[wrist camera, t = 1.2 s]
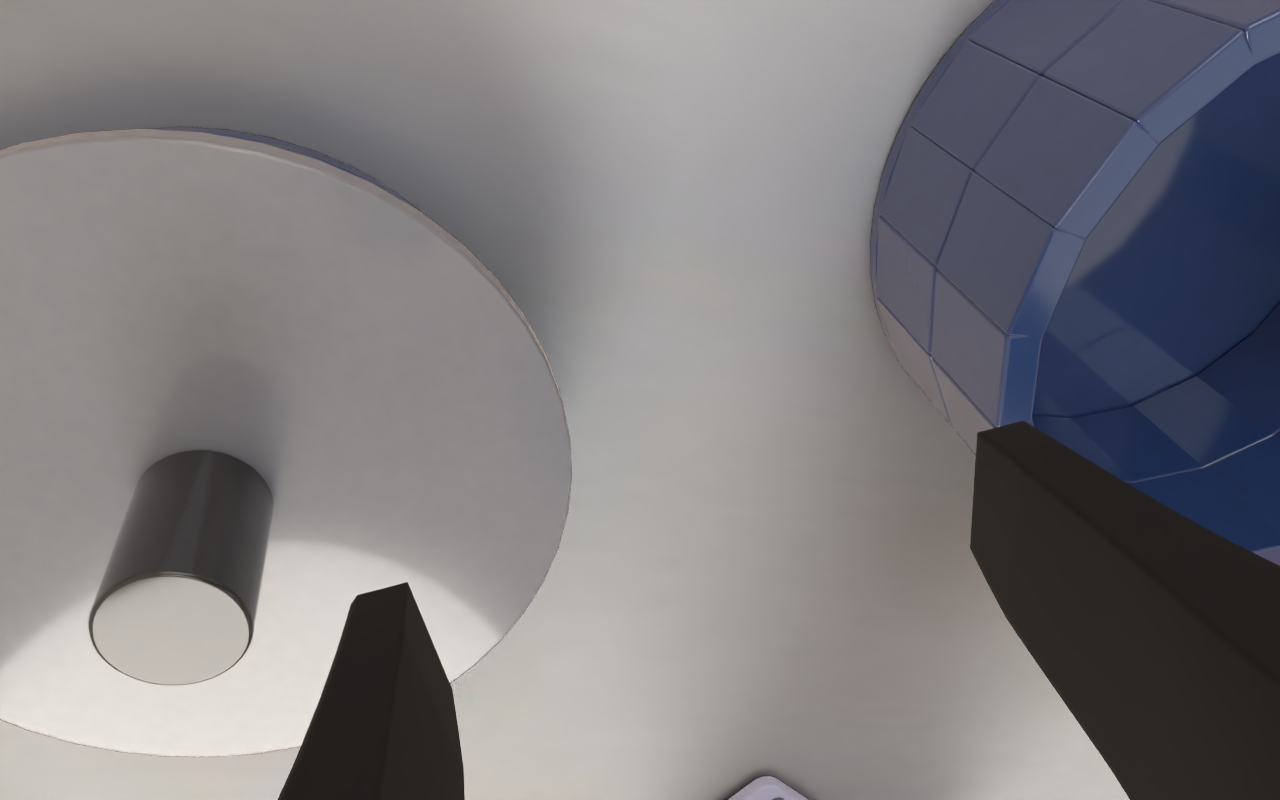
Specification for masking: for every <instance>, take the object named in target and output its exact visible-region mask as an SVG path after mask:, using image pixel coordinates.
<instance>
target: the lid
mask: <svg viewBox="0 0 1280 800" xmlns="http://www.w3.org/2000/svg"><path fill="white" fill-rule="evenodd" d="M571 481H572V466H571V446H570V436H569V431H568V426H567V421H566V416H565V412H564V407H563V402H562V398H561V394H560V390H559V388H558V385H557V382H556V380H555V377H554V374H553V372H552V369H551V366H550V364H549V361H548V358H547V356H546V353H545V351H544V349H543V347H542V346H541V344H540V342H539V340H538V338H537V337H536V335H535V333H534V331H533V329H532V328H531V326H530V324H529V322H528V321H527V319H526V317H525V315H524V314H523V312H522V311H521V310H520V308H519V307H518V306H517V304H516V303H515V302H514V300H513V299H512V298H511V297H510V295H509V294H508V293H507V291H506V290H505V289H504V287H503V286H502V285H501V283H500V282H499V281H498V279H497V278H496V277H495V276H494V275H493V274H492V273H491V272H490V271H489V270H488V269H487V268H486V267H485V266H484V265H483V264H482V263H481V262H480V261H479V260H478V259H477V258H476V257H475V256H474V255H473V254H472V253H471V252H470V251H469V250H468V249H467V248H466V247H465V246H464V245H463V244H462V243H461V242H459V241H458V240H457V239H455V238H454V237H453V236H452V235H450V234H449V233H448V232H446V231H445V230H444V229H442V228H441V227H440V226H439V225H437V224H436V223H435V222H433V221H432V220H431V219H429V218H428V217H427V216H426V215H424V214H423V213H422V212H420V211H419V210H417V209H415V208H414V207H412V206H410V205H408V204H407V203H405V202H403V201H402V200H400V199H398V198H396V197H395V196H393V195H391V194H390V193H388V192H386V191H385V190H383V189H381V188H379V187H378V186H376V185H374V184H373V183H370V182H368V181H366V180H363V179H361V178H359V177H357V176H354V175H352V174H350V173H347V172H345V171H343V170H340V169H338V168H336V167H334V166H331V165H329V164H327V163H324V162H322V161H320V160H316V159H313V158H310V157H307V156H303V155H300V154H297V153H293V152H290V151H287V150H283V149H280V148H277V147H273V146H270V145H267V144H264V143H258V142H253V141H247V140H242V139H236V138H231V137H225V136H219V135H214V134H208V133H203V132H186V131H169V130H153V129H129V130H112V131H96V132H80V133H74V134H68V135H63V136H58V137H53V138H47V139H42V140H37V141H31V142H26V143H21V144H17V145H14V146H11V147H8V148H5V149H2V150H0V720H2V721H4V722H7V723H10V724H12V725H15V726H18V727H20V728H23V729H26V730H28V731H31V732H35V733H38V734H42V735H46V736H49V737H53V738H57V739H60V740H64V741H67V742H71V743H75V744H80V745H85V746H90V747H96V748H101V749H107V750H112V751H117V752H125V753H135V754H145V755H155V756H165V757H220V756H234V755H248V754H258V753H264V752H270V751H277V750H283V749H289V748H296V747H300V746H301V745H302V743H303V740H304V738H305V735H306V732H307V730H308V727H309V725H310V722H311V720H312V717H313V715H314V712H315V710H316V707H317V705H318V702H319V699H320V697H321V694H322V691H323V688H324V686H325V683H326V680H327V677H328V674H329V672H330V669H331V666H332V663H333V660H334V657H335V654H336V651H337V648H338V645H339V642H340V638H341V635H342V632H343V629H344V626H345V622H346V619H347V616H348V612H349V609H350V605H351V603H352V602H353V600H354V599H355V598H356V596H357V595H360V594H364V593H368V592H371V591H375V590H379V589H383V588H387V587H390V586H394V585H398V584H402V583H406V582H408V584H409V587H410V589H411V591H412V594H413V596H414V599H415V601H416V603H417V606H418V608H419V611H420V613H421V615H422V618H423V620H424V623H425V625H426V627H427V630H428V632H429V635H430V637H431V639H432V642H433V644H434V647H435V649H436V651H437V654H438V656H439V659H440V661H441V664H442V666H443V668H444V671H445V673H446V676H447V678H448V680H449V683H452V682H453V681H454V680H456V679H457V678H458V677H460V676H461V675H462V674H464V673H465V672H466V671H468V670H469V669H470V668H472V667H473V666H474V665H475V664H477V663H478V662H479V661H480V660H481V659H482V658H483V657H484V656H485V655H486V654H487V653H488V652H489V651H490V650H491V649H492V648H493V647H495V646H496V645H497V644H498V643H499V642H500V641H501V640H502V639H503V638H504V636H505V635H506V634H507V633H508V631H509V630H510V629H511V628H512V627H513V625H514V624H515V623H516V622H517V621H518V619H519V618H520V617H521V616H522V614H523V613H524V612H525V611H526V609H527V607H528V606H529V604H530V603H531V601H532V599H533V598H534V596H535V594H536V593H537V591H538V590H539V588H540V586H541V585H542V583H543V582H544V580H545V577H546V575H547V573H548V570H549V568H550V566H551V564H552V561H553V559H554V557H555V554H556V552H557V550H558V548H559V544H560V540H561V537H562V533H563V529H564V526H565V522H566V518H567V515H568V508H569V499H570V490H571Z"/></svg>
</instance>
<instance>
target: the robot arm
mask: <svg viewBox="0 0 1280 800" xmlns="http://www.w3.org/2000/svg"><path fill="white" fill-rule="evenodd" d="M970 549H971V551H972V553H973V555H974V557H975V559H976V561H977V563H978V565H979V567H980V569H981V571H982V573H983V575H984V577H985V579H986V581H987V583H988V585H989V587H990V588H991V590H992V592H993V594H994V596H995V598H996V600H997V602H998V603H999V605H1000V607H1001V609H1002V611H1003V613H1004V615H1005V616H1006V618H1007V620H1008V621H1009V623H1010V624H1011V626H1012V627H1013V629H1014V630H1015V632H1016V633H1017V635H1018V636H1019V637H1020V639H1021V640H1022V642H1023V643H1024V645H1025V646H1026V648H1027V649H1028V651H1029V652H1030V653H1031V655H1032V656H1033V658H1034V659H1035V661H1036V662H1037V664H1038V665H1039V667H1040V668H1041V669H1042V671H1043V672H1044V674H1045V675H1046V677H1047V678H1048V680H1049V681H1050V682H1051V684H1052V685H1053V687H1054V688H1055V690H1056V691H1057V692H1058V694H1059V695H1060V697H1061V698H1062V700H1063V701H1064V702H1065V704H1066V705H1067V707H1068V708H1069V710H1070V711H1071V712H1072V714H1073V715H1074V717H1075V718H1076V720H1077V721H1078V722H1079V724H1080V725H1081V727H1082V728H1083V730H1084V731H1085V732H1086V734H1087V735H1088V737H1089V738H1090V740H1091V741H1092V743H1093V744H1094V745H1095V747H1096V748H1097V750H1098V751H1099V753H1100V754H1101V755H1102V757H1103V758H1104V760H1105V761H1106V763H1107V764H1108V766H1109V767H1110V769H1111V770H1112V772H1113V773H1114V775H1115V777H1116V778H1117V780H1118V781H1119V783H1120V784H1121V786H1122V788H1123V789H1124V791H1125V792H1126V794H1127V795H1128V797H1129V799H1130V800H1280V566H1279V565H1277V564H1275V563H1273V562H1271V561H1269V560H1267V559H1265V558H1263V557H1261V556H1259V555H1257V554H1255V553H1253V552H1251V551H1249V550H1247V549H1245V548H1243V547H1241V546H1239V545H1237V544H1235V543H1233V542H1231V541H1229V540H1227V539H1226V538H1224V537H1222V536H1220V535H1218V534H1216V533H1214V532H1212V531H1210V530H1209V529H1207V528H1205V527H1203V526H1201V525H1199V524H1197V523H1196V522H1194V521H1192V520H1190V519H1188V518H1187V517H1185V516H1183V515H1181V514H1179V513H1178V512H1176V511H1174V510H1172V509H1170V508H1169V507H1167V506H1165V505H1164V504H1162V503H1160V502H1158V501H1157V500H1155V499H1153V498H1151V497H1150V496H1148V495H1146V494H1144V493H1143V492H1141V491H1139V490H1138V489H1136V488H1134V487H1133V486H1131V485H1129V484H1128V483H1126V482H1124V481H1123V480H1121V479H1119V478H1118V477H1116V476H1114V475H1113V474H1111V473H1109V472H1108V471H1106V470H1104V469H1103V468H1101V467H1099V466H1098V465H1096V464H1094V463H1093V462H1091V461H1090V460H1088V459H1086V458H1085V457H1083V456H1081V455H1080V454H1078V453H1077V452H1075V451H1073V450H1072V449H1070V448H1068V447H1067V446H1065V445H1063V444H1062V443H1060V442H1059V441H1057V440H1055V439H1054V438H1052V437H1050V436H1049V435H1047V434H1045V433H1044V432H1042V431H1040V430H1039V429H1037V428H1035V427H1034V426H1032V425H1030V424H1029V423H1027V422H1025V421H1019V422H1016V423H1012V424H1008V425H1004V426H1000V427H997V428H993V429H989V430H985V431H981V432H977V445H976V462H975V478H974V495H973V511H972V528H971V544H970ZM278 800H464V773H463V762H462V755H461V747H460V740H459V732H458V725H457V719H456V712H455V705H454V698H453V692H452V688H451V685H450V683H449V680H448V678H447V676H446V673H445V671H444V668H443V666H442V664H441V661H440V659H439V656H438V654H437V651H436V649H435V647H434V644H433V642H432V639H431V637H430V635H429V632H428V630H427V627H426V625H425V623H424V620H423V618H422V615H421V613H420V611H419V608H418V606H417V603H416V601H415V599H414V596H413V594H412V591H411V589H410V587H409V584H408V582H406V583H402V584H398V585H394V586H390V587H387V588H383V589H379V590H375V591H371V592H368V593H364V594H360V595H357V596H356V598H355V599H354V600H353V602H352V603H351V605H350V609H349V612H348V616H347V619H346V622H345V626H344V629H343V632H342V635H341V638H340V642H339V645H338V648H337V651H336V654H335V657H334V660H333V663H332V666H331V669H330V672H329V674H328V677H327V680H326V683H325V686H324V688H323V691H322V694H321V697H320V699H319V702H318V705H317V707H316V710H315V712H314V715H313V717H312V720H311V722H310V725H309V727H308V730H307V732H306V735H305V738H304V740H303V743H302V745H301V748H300V750H299V753H298V755H297V758H296V760H295V762H294V765H293V767H292V769H291V772H290V774H289V776H288V778H287V780H286V783H285V785H284V787H283V789H282V791H281V794H280V796H279V798H278ZM728 800H808V799H807V798H805V797H804V796H802V795H801V794H799V793H798V792H796V791H795V790H793V789H792V788H790V787H789V786H787V785H786V784H784V783H782V782H781V781H779V780H778V779H776V778H774V777H772V776H763V777H759V778H757V779H755V780H754V781H752V782H751V783H750V784H748V785H747V786H745V787H744V788H743V789H741V790H740V791H739V792H737V793H736V794H735V795H733V796H732V797H731V798H729V799H728Z"/></svg>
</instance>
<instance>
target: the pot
mask: <svg viewBox="0 0 1280 800" xmlns="http://www.w3.org/2000/svg"><path fill="white" fill-rule="evenodd" d="M870 262H871V280H872V287H873V293H874V299H875V305H876V309H877V312H878V315H879V318H880V321H881V324H882V327H883V330H884V333H885V335H886V337H887V339H888V341H889V343H890V345H891V347H892V349H893V351H894V353H895V355H896V358H897V361H898V362H899V363H900V365H901V367H902V368H903V369H904V370H905V371H906V373H907V374H908V375H909V376H910V377H911V379H912V380H913V381H914V382H915V383H916V384H917V386H918V387H919V388H920V389H921V390H922V392H923V393H924V394H925V395H926V396H927V398H928V399H929V400H930V401H931V402H932V404H933V405H934V406H935V407H936V408H937V410H938V411H939V412H940V413H941V414H942V416H943V417H944V418H945V419H946V420H947V422H948V423H949V424H950V425H951V426H952V427H953V429H954V430H955V431H956V432H957V434H958V435H959V436H960V437H961V438H962V439H963V441H964V442H965V443H966V444H967V445H968V447H969V448H970V449H971V450H972V451H973V453H974V454H975V455H976V445H977V432H981V431H985V430H989V429H993V428H997V427H1000V426H1004V425H1008V424H1012V423H1016V422H1019V421H1025V422H1027V423H1029V424H1030V425H1032V426H1034V427H1035V428H1037V429H1039V430H1040V431H1042V432H1044V433H1045V434H1047V435H1049V436H1050V437H1052V438H1054V439H1055V440H1057V441H1059V442H1060V443H1062V444H1063V445H1065V446H1067V447H1068V448H1070V449H1072V450H1073V451H1075V452H1077V453H1078V454H1080V455H1081V456H1083V457H1085V458H1086V459H1088V460H1090V461H1091V462H1093V463H1094V464H1096V465H1098V466H1099V467H1101V468H1103V469H1104V470H1106V471H1108V472H1109V473H1111V474H1113V475H1114V476H1116V477H1118V478H1119V479H1121V480H1123V481H1124V482H1126V483H1128V484H1129V485H1131V486H1133V487H1134V488H1136V489H1138V490H1139V491H1141V492H1143V493H1144V494H1146V495H1148V496H1150V497H1151V498H1153V499H1155V500H1157V501H1158V502H1160V503H1162V504H1164V505H1165V506H1167V507H1169V508H1170V509H1172V510H1174V511H1176V512H1178V513H1179V514H1181V515H1183V516H1185V517H1187V518H1188V519H1190V520H1192V521H1194V522H1196V523H1197V524H1199V525H1201V526H1203V527H1205V528H1207V529H1209V530H1210V531H1212V532H1214V533H1216V534H1218V535H1220V536H1222V537H1224V538H1226V539H1227V540H1229V541H1231V542H1233V543H1235V544H1237V545H1239V546H1241V547H1243V548H1245V549H1247V550H1249V551H1251V552H1253V553H1255V554H1257V555H1259V556H1261V557H1263V558H1265V559H1267V560H1269V561H1271V562H1273V563H1275V564H1277V565H1279V566H1280V0H995V1H994V2H993V3H992V4H991V5H990V6H989V7H988V8H987V9H986V10H985V11H984V12H983V13H982V14H981V15H980V16H979V17H978V18H977V19H976V20H975V21H974V22H973V23H972V24H971V25H970V26H969V27H968V28H967V29H966V30H965V31H964V32H963V34H962V35H961V36H960V37H959V39H958V40H957V41H956V42H955V43H954V45H953V46H952V47H951V48H950V50H949V51H948V52H947V53H946V55H945V56H944V57H943V58H942V60H941V61H940V62H939V63H938V65H937V66H936V68H935V69H934V71H933V72H932V74H931V75H930V77H929V79H928V80H927V82H926V83H925V85H924V86H923V88H922V89H921V91H920V92H919V94H918V95H917V97H916V99H915V100H914V102H913V104H912V106H911V108H910V110H909V112H908V114H907V116H906V118H905V120H904V122H903V124H902V126H901V128H900V130H899V132H898V134H897V136H896V139H895V141H894V144H893V147H892V150H891V152H890V155H889V158H888V160H887V163H886V166H885V168H884V171H883V174H882V178H881V183H880V187H879V191H878V195H877V199H876V203H875V207H874V214H873V223H872V231H871V240H870Z"/></svg>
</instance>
